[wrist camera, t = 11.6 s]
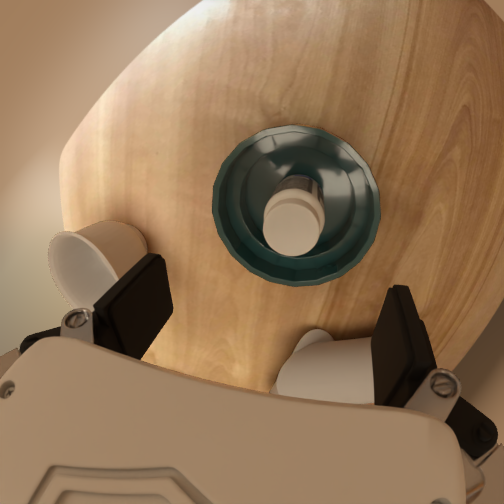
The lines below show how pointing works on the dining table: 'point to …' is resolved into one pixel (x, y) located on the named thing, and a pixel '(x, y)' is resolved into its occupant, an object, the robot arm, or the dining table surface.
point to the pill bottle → (294, 216)
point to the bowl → (263, 186)
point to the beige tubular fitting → (328, 370)
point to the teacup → (93, 260)
